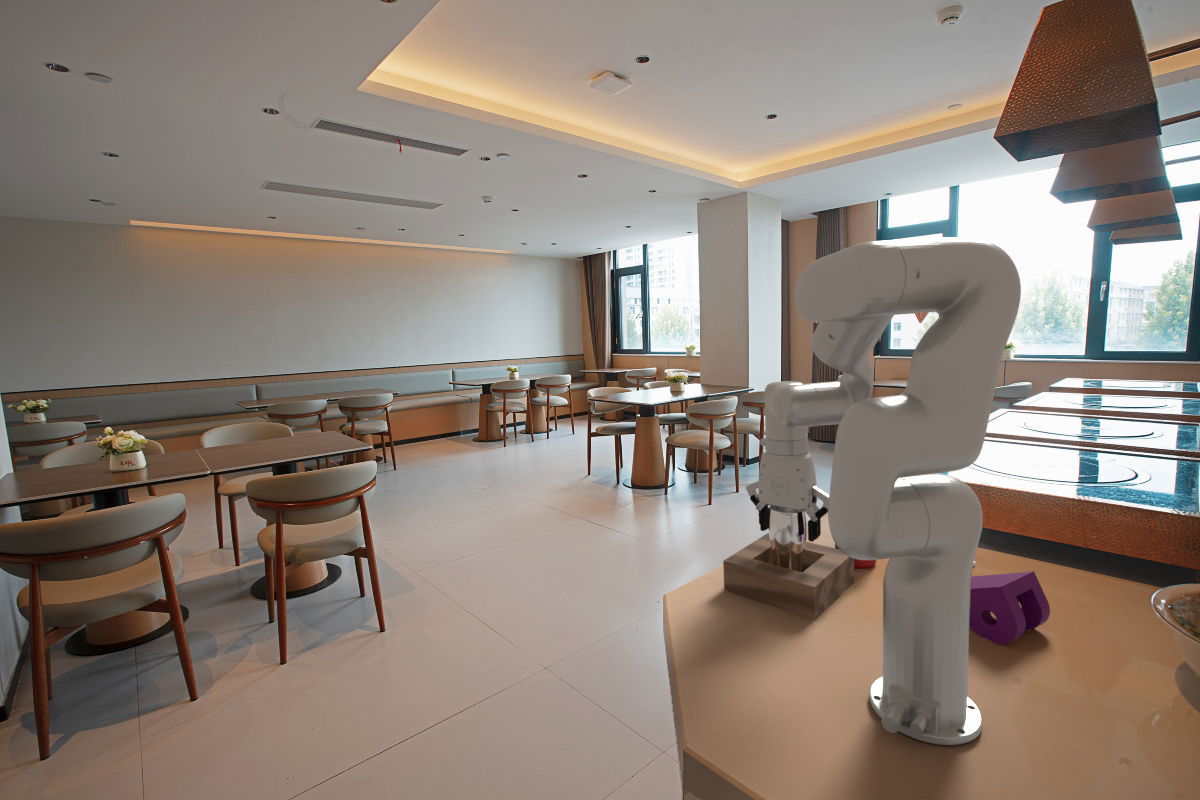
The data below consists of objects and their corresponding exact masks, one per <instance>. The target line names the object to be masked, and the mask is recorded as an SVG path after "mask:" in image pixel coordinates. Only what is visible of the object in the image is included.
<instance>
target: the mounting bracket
mask: <svg viewBox="0 0 1200 800" xmlns="http://www.w3.org/2000/svg"><path fill="white" fill-rule="evenodd" d="M1050 613H1051V607H1050V604H1049V601H1048V599H1047V597H1046V594H1045V591H1044V590H1043V587H1042V585H1041V583H1040V581H1039V579H1038V577H1037V574H1036V572H1035V571H1024V572H1023V571H1022V572H1012V573H1011V572H1010V573H997V574H985V575H976V576H975V575H974V576H973V575H972V577H971V593H970V618H969V628H971V630H972V631H973V632H974V633H975V634H976V635H977V636H979V637H981V638H983V639H985V640H988V641H989V642H992V643H994V644H996V645H1006V644H1010V643H1011V642H1013V641H1015V640H1016V639H1018V638H1020V637H1021V636H1023V634H1024V632H1026V631H1031V630H1034V629H1035V628H1038V627H1040V626H1042V625H1043V624H1045V623H1046V622H1047V621H1048V619H1049V617H1050ZM992 614H993V615H994V616H995V618H994V617H993V616H992Z"/></svg>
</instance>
